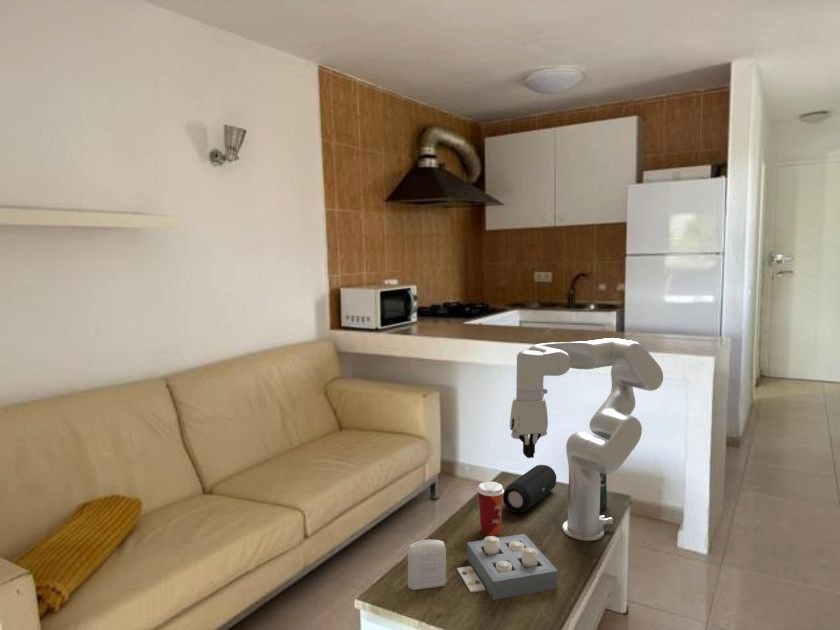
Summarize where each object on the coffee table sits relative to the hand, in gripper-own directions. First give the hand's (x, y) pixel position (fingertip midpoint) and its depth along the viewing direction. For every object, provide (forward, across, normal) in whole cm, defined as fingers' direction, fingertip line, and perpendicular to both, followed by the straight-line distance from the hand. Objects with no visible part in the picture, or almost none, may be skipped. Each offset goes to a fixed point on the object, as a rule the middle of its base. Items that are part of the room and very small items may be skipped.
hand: (528, 456), depth 164 cm
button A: (+29, +6, +5) cm, 29 cm away
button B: (+26, +6, +13) cm, 30 cm away
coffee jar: (+29, -34, -20) cm, 49 cm away
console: (+29, +10, +9) cm, 32 cm away
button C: (+26, +13, +5) cm, 29 cm away
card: (+29, +21, +9) cm, 37 cm away
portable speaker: (+30, -16, -30) cm, 45 cm away
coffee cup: (+29, +6, -14) cm, 33 cm away
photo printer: (+29, +33, +8) cm, 45 cm away
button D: (+28, +13, +13) cm, 34 cm away
